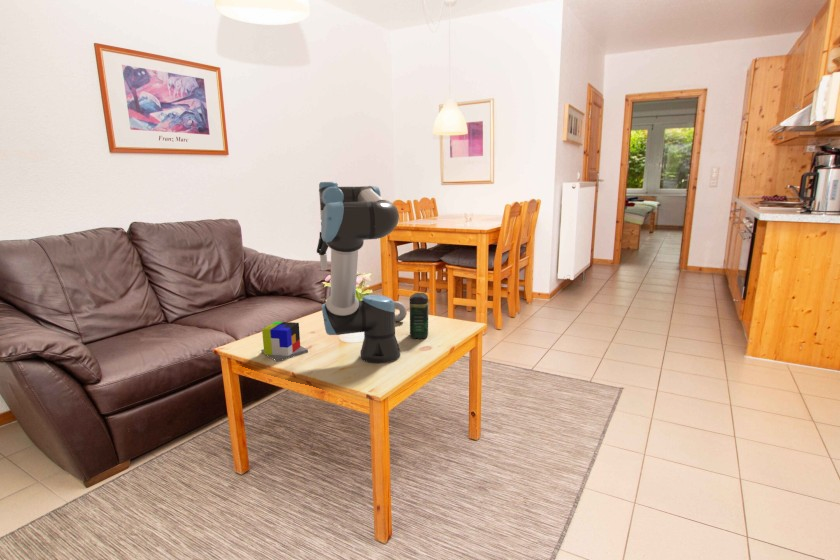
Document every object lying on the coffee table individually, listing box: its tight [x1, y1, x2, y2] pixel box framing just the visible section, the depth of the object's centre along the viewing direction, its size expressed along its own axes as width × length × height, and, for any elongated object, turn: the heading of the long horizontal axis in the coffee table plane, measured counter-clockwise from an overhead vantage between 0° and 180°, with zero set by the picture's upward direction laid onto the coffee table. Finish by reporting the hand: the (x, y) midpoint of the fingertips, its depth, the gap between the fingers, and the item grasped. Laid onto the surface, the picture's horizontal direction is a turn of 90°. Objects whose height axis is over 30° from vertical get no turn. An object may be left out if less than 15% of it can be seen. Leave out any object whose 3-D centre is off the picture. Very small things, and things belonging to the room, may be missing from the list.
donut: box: [393, 300, 408, 322], centre depth 216 cm, size 10×4×10 cm, turn 71°
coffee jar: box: [409, 292, 429, 339], centre depth 194 cm, size 10×8×19 cm
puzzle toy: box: [261, 321, 301, 356], centre depth 176 cm, size 10×10×10 cm
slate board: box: [260, 345, 309, 362], centre depth 178 cm, size 13×13×1 cm
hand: (333, 272), depth 188 cm, fingers open, 13 cm apart
